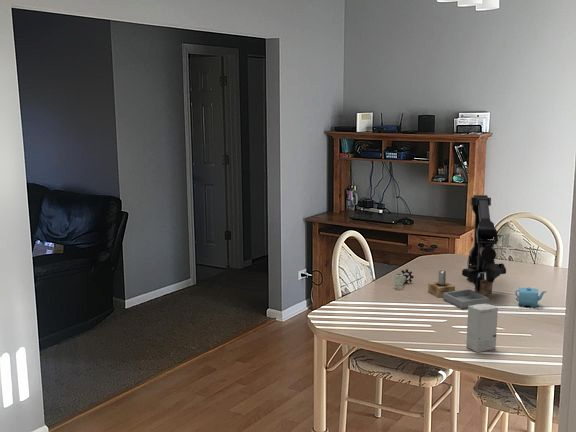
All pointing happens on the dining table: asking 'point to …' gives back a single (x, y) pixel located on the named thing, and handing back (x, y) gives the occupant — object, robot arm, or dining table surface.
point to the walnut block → (485, 287)
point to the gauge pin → (441, 278)
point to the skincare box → (481, 327)
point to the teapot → (528, 296)
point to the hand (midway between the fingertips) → (483, 290)
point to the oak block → (440, 289)
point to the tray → (465, 298)
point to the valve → (402, 279)
